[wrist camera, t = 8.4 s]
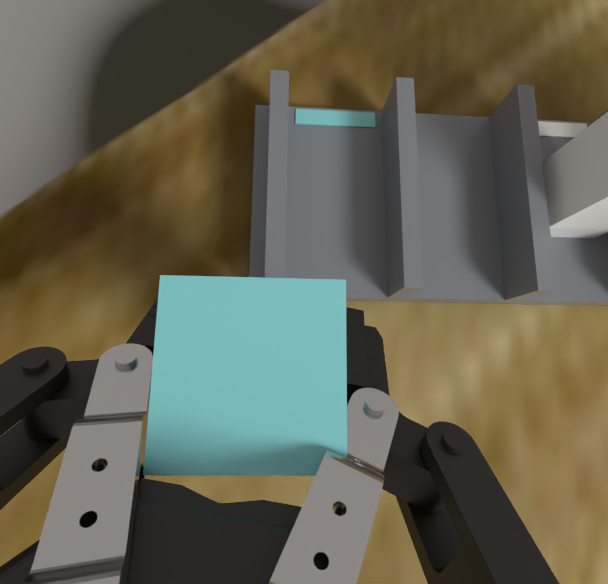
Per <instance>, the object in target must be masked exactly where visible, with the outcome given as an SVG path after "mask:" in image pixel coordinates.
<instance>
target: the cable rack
mask: <svg viewBox="0 0 608 584" xmlns="http://www.w3.org/2000/svg"><path fill="white" fill-rule="evenodd" d="M288 100H289V71H282V70H271V81H270V105H256V106H255V133H254V159H253V186H252V212H251V239H250V265H249V277H259V278H299V279H339V280H346V300H357V301H404V302H451V303H498V304H544V305H591V306H608V233H605V234H603V235H600V236H598V237H595V238H567V237H551V233H550V224H549V215H548V207H547V198H546V189H545V180H544V171H543V161H544V160H546V159H547V158H548V157H550V156H551V155H552V154H553V153H555V152H556V151H557V150H559V149H560V148H561V147H563V146H564V145H565V144H566V143H568V142H569V141H570V140H572V139H573V138H574V137H576V136H577V135H578V134H579V133H581V132H582V131H583V130H585V129H586V128H587V127H588V126H590V125H591V124H592V123H594V122H595V121H596V120H598V119H599V118H600V117H601V116H603V115H604V114H605V113H607V112H608V111H606V112H605V113H604V114H602V115H601V116H600V117H598V118H597V119H596V120H595V121H593V122H576V121H557V120H538V118H537V109H536V100H535V91H534V85H524V84H517V85H516V86H515V87H514V88H513V89H512V91H511V92H510V93H509V94H508V95H507V96H506V98H505V99H504V100H503V101H502V102H501V104H500V105H499V106H498V107H497V108H496V109H495V111H494V112H493V113H492V114H491V115H490V116H489V117H480V116H461V115H442V114H423V113H416V112H415V91H414V78H403V77H396V79H395V82H394V84H393V87H392V89H391V91H390V94H389V96H388V99H387V101H386V104H385V106H384V108H383V111H366V110H346V109H327V108H308V107H289V106H288Z"/></svg>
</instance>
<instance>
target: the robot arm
mask: <svg viewBox="0 0 608 584" xmlns="http://www.w3.org/2000/svg"><path fill="white" fill-rule="evenodd" d="M157 305H158V299H157V300H156V302H155V303H154V304H153V307H152V308H151V309H150V310H149V311H148V313H147V316H145V317H144V318H143V320H142V321H141V323H140V324H139V326H138V327H137V328H136V330H135V331H134V333H133V334H132V335H131V337H130V338H129V340H128V341H127V342H126V344H121V345H118V346H115V347H113V348H111V349H109V350H107V351H106V352H105V353H104V354H103V355H102V356H101V357H100V359H96V360H85V361H68V362H67V360H66V356H65V354H64V353H63V352H62V351H60V350H59V349H56V348H52V347H36V348H32V349H28V350H25V351H23V352H20V353H19V354H17V355H15V356H13V357H12V358H10V359H9V360H7V361H6V362H4V363H3V364H1V365H0V436H1V435H2V434H3V435H2V436H1V437H0V510H1V509H2V508H3V507H4V506H5V505H6V504H7V503H8V502H9V501H10V500H11V499H12V498H13V497H14V496H15V495H16V494H18V493H19V492H20V491H21V490H22V489H23V488H24V487H25V486H26V485H27V484H28V483H29V482H30V481H31V480H32V479H33V478H34V477H35V476H37V475H38V474H39V473H40V472H41V471H42V470H43V469H44V468H45V467H46V466H47V465H48V464H49V463H50V462H51V461H52V460H53V459H54V458H56V457H57V456H58V455H59V454H60V453H61V452H62V451H63V450H64V449H65V448H66V451H65V454H64V458H63V461H62V465H61V468H60V472H59V475H58V479H57V482H56V485H55V489H54V492H53V496H52V499H51V503H50V506H49V510H48V513H47V517H46V520H45V524H44V527H43V530H42V534H41V537H40V540H38V541H37V542H36V543H34V544H33V545H31V546H30V547H28V548H27V549H25V550H24V551H23V552H21V553H20V554H18V555H17V556H15V557H14V558H12V559H11V560H10V561H8V562H7V563H5V564H4V565H2V566H1V567H0V584H357V581H358V577H359V573H360V569H361V566H362V562H363V558H364V554H365V551H366V547H367V543H368V540H369V536H370V532H371V528H372V525H373V521H374V517H375V513H376V510H377V506H378V502H379V498H380V495H381V491H382V489H384V490H386V491H388V492H389V493H391V494H393V495H395V496H396V498H397V501H398V504H399V506H400V509H401V512H402V514H403V517H404V520H405V523H406V525H407V528H408V531H409V533H410V536H411V539H412V542H413V544H414V547H415V550H416V553H417V555H418V558H419V561H420V563H421V566H422V569H423V572H424V574H425V577H426V580H427V582H428V584H559V583H558V581H557V579H556V577H555V576H554V574H553V572H552V571H551V569H550V567H549V566H548V564H547V562H546V561H545V559H544V557H543V556H542V554H541V552H540V551H539V549H538V547H537V546H536V544H535V542H534V540H533V539H532V537H531V535H530V534H529V532H528V530H527V529H526V527H525V525H524V524H523V522H522V520H521V519H520V517H519V515H518V514H517V512H516V510H515V509H514V507H513V505H512V504H511V502H510V500H509V498H508V497H507V495H506V493H505V492H504V490H503V488H502V487H501V485H500V483H499V482H498V480H497V478H496V477H495V475H494V473H493V472H492V470H491V468H490V467H489V465H488V463H487V461H486V460H485V458H484V456H483V455H482V453H481V451H480V450H479V448H478V446H477V445H476V443H475V441H474V440H473V438H472V437H471V436H470V435H469V434H468V433H467V432H466V431H465V430H463V429H462V428H460V427H459V426H457V425H455V424H452V423H449V422H436V423H433V424H432V425H430V426H429V428H427V427H424V426H422V425H420V424H418V423H416V422H414V421H412V420H410V419H408V418H406V417H405V416H403V415H402V414H401V413H400V412H399V411H398V407H397V405H396V403H395V402H394V400H393V399H392V398H391V397H390V396H389V389H388V381H387V372H386V364H385V355H384V347H383V338H382V337H381V335H380V334H379V332H378V331H377V329H376V328H375V327H370V326H365V325H364V313H363V310H357V309H352V308H347V307H346V348H347V457H346V456H344V455H341V454H339V453H337V452H334V451H332V450H330V449H327V451H326V453H325V455H324V458H323V460H322V462H321V464H320V467H319V469H318V471H317V474H316V476H315V478H314V481H313V483H312V485H311V487H310V490H309V492H308V494H307V497H306V499H305V501H304V503H303V506H302V507H299V506H293V505H288V504H282V503H277V502H271V501H266V500H259V501H247V502H235V503H217V502H215V501H213V500H211V499H209V498H207V497H204V496H202V495H200V494H198V493H196V492H194V491H192V490H190V489H188V488H186V487H184V486H182V485H177V484H172V483H166V482H161V481H155V480H152V475H143V470H144V458H145V446H146V435H147V423H148V411H149V399H150V388H151V376H152V364H153V352H154V341H155V329H156V317H157ZM20 420H21V421H20ZM19 421H20V422H19ZM18 422H19V423H18ZM16 423H17V424H16ZM15 424H16V425H15ZM14 425H15V426H14ZM11 427H12V428H11ZM10 428H11V429H10ZM9 429H10V430H9ZM7 430H8V431H7ZM6 431H7V432H6ZM5 432H6V433H5ZM4 433H5V434H4Z"/></svg>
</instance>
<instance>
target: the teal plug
mask: <svg viewBox="0 0 608 584" xmlns="http://www.w3.org/2000/svg"><path fill="white" fill-rule="evenodd" d="M327 449H330V450H332V451H334V452H337V453H339V454H341V455H344V456H346V457H347V348H346V280H339V279H299V278H259V277H219V276H179V275H160V282H159V294H158V305H157V317H156V329H155V341H154V352H153V364H152V376H151V388H150V399H149V411H148V423H147V435H146V446H145V458H144V470H143V475H316V474H317V471H318V469H319V467H320V464H321V462H322V460H323V458H324V455H325V453H326V451H327Z"/></svg>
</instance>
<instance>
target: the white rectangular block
mask: <svg viewBox="0 0 608 584" xmlns="http://www.w3.org/2000/svg"><path fill="white" fill-rule="evenodd" d="M543 171H544V180H545V189H546V198H547V207H548V215H549V224H550V233H551V237H567V238H595V237H598V236H600V235H603V234H605V233H608V112H607V113H605V114H604V115H603V116H601V117H600V118H599V119H598V120H596V121H595V122H594V123H592V124H591V125H590V126H588V127H587V128H586V129H585V130H583V131H582V132H581V133H579V134H578V135H577V136H576V137H574V138H573V139H572V140H570V141H569V142H568V143H566V144H565V145H564V146H563V147H561V148H560V149H559V150H557V151H556V152H555V153H553V154H552V155H551V156H550V157H548V158H547V159H546V160H544V161H543Z"/></svg>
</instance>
